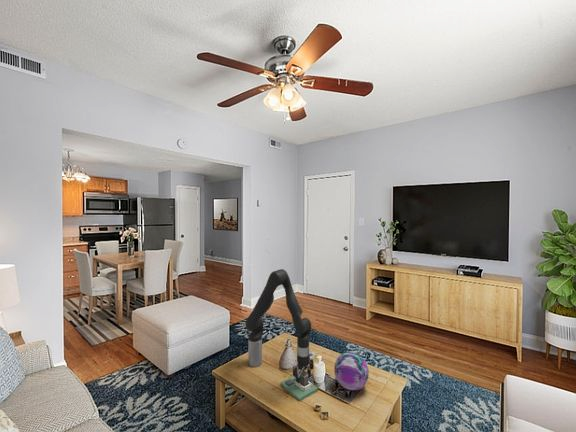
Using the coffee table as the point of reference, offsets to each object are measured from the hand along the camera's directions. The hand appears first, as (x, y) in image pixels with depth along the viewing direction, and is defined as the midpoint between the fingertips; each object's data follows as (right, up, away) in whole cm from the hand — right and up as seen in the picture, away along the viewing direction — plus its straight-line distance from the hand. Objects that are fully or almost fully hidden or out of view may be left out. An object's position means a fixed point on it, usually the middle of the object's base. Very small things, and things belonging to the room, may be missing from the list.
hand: (303, 379), depth 161 cm
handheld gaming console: (+3, -5, +33) cm, 34 cm away
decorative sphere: (+29, -5, +1) cm, 29 cm away
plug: (0, -4, 0) cm, 4 cm away
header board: (-3, -5, +1) cm, 6 cm away
